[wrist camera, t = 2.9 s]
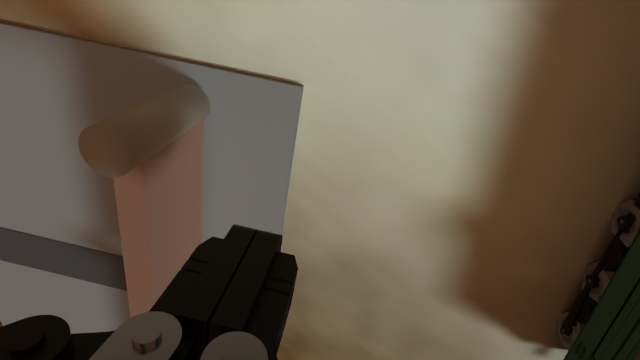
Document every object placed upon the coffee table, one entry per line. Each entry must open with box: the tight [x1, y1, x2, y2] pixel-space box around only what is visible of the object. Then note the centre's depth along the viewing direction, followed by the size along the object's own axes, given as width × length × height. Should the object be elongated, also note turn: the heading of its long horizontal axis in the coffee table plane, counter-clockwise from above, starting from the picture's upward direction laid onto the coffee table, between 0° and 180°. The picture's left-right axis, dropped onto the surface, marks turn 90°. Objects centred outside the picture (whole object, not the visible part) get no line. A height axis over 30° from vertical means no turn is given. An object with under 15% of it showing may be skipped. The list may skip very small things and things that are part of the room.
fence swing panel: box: [78, 84, 210, 317], centre depth 16 cm, size 12×2×6 cm, turn 170°
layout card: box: [0, 22, 304, 334], centre depth 22 cm, size 26×21×1 cm
